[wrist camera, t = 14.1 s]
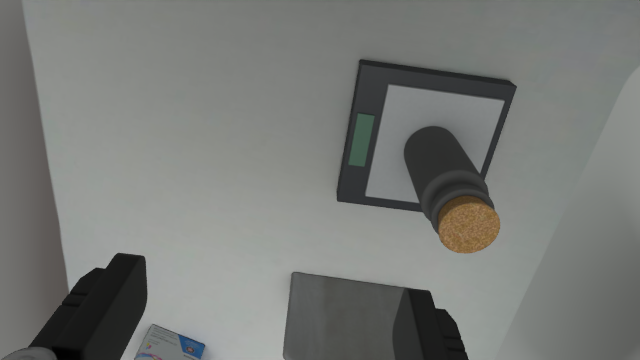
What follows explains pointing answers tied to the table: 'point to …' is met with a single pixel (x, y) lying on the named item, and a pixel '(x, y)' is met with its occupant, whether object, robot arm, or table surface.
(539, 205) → the table surface
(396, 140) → the scale
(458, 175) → the bottle
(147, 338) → the ink box
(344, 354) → the planter
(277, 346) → the table surface
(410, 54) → the table surface
